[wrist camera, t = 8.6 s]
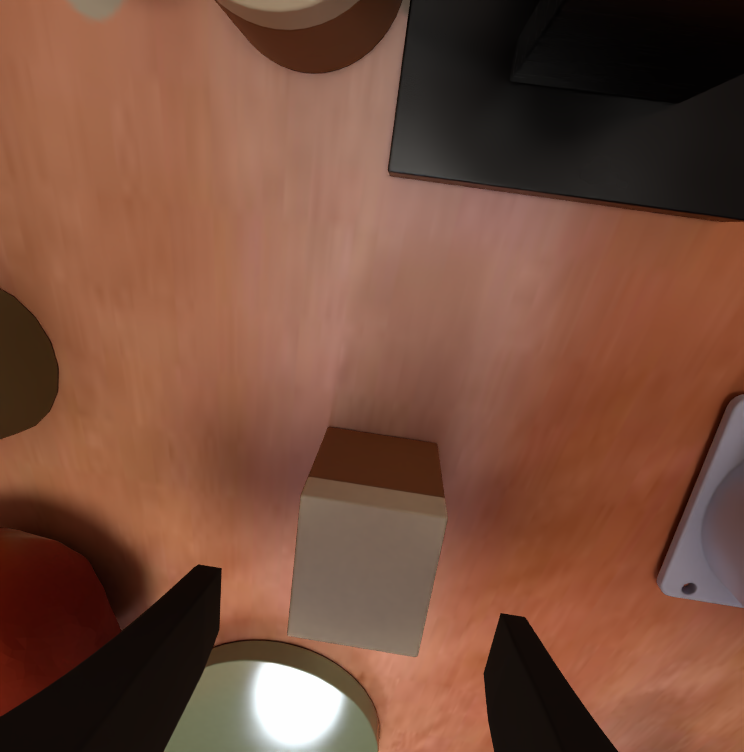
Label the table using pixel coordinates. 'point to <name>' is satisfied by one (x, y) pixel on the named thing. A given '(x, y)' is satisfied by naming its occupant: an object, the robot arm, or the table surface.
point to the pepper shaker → (24, 368)
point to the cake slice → (368, 542)
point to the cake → (312, 29)
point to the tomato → (46, 614)
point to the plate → (275, 704)
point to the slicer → (578, 101)
